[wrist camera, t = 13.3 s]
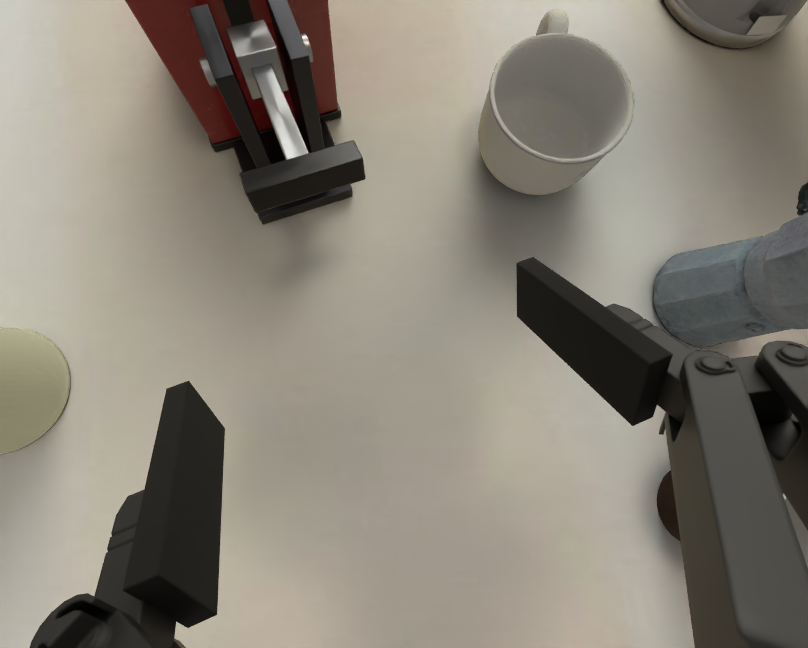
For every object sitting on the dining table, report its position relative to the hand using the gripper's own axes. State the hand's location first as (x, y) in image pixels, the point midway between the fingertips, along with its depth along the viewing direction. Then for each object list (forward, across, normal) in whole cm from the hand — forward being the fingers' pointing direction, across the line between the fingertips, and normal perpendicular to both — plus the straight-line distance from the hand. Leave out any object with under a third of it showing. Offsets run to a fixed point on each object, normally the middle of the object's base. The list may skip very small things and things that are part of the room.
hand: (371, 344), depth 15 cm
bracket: (+24, 0, +1) cm, 25 cm away
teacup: (+22, +21, -2) cm, 31 cm away
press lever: (+13, 0, +6) cm, 14 cm away
